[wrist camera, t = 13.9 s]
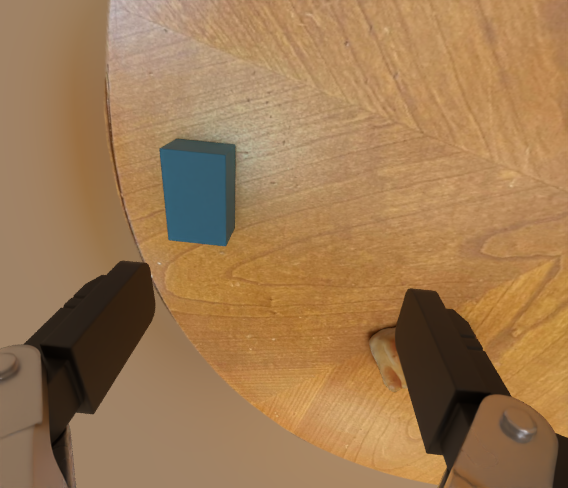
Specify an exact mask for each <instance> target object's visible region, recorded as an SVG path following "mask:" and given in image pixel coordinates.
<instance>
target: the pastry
mask: <svg viewBox="0 0 568 488" xmlns="http://www.w3.org/2000/svg"><path fill="white" fill-rule="evenodd" d="M395 329H396V327H395V328H387V329H383V330H381V331H379V332H378V333H376V334H374V335H373V336H372V337H371V339H370V341H369V345H370V348H371V352H372V355H373V357H374V359H375V360H376V363H377V365H378V367H379V370H380V373H381V375H382V379H383V381H384V384H385V385H386V387H387V388H388V389H389V390H391V391H392V392H397V391H399V390H400V389H402V388H407V384H406V381H405V377H404V374H403V370H402V367H401V363H400V360H399V356H398V353H397V350H396V345H395ZM475 336H476V335H475ZM476 339H477V337H476Z"/></svg>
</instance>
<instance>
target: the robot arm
mask: <svg viewBox="0 0 568 488" xmlns="http://www.w3.org/2000/svg"><path fill="white" fill-rule="evenodd" d="M154 313H155V298H154V291H153V284H152V278H151V271H150V267H149V265H148V264H147V263H142V262H130V261H120V262H119V263H118V264H117V265H116V266H115V267H114V268H113V269H112V270H111V271H110V272H109V273H108V274H107V275H101V276H99V277H97V278H96V279H94V280H92V281H90V282H88V283H87V284H85V285H84V286H83V287H82V288H81V289H80V290H79V291H78V292H77V293H76V294H75V295H74V297H73V298H71V299H70V300H69V301H68V302H67V303H65V305H64V307H63V308H60V309H59V310H58V311H57V312H56V313H55V314H54V315H53V316H52V317H51V318H50V319H49V320H48V321H47V322H46V323H45V324H44V325H43V326H42V327H41V328H40V329H39V330H38V331H37V332H36V333H35V334H34V335H33V336H32V337H31V338H30V339H29V340H28V341H26V343H24V344H23V345H12V346H8V347H4V348H1V349H0V488H76V481H75V471H74V462H73V451H72V441H71V431H70V426H69V424H68V423H69V422H70V420H71V419H72V417H73V416H74V414H75V413H76V412H77V413H85V414H94V413H95V411H96V410H97V408H98V407H99V405H100V403H101V402H102V400H103V399H104V397H105V395H106V394H107V392H108V390H109V389H110V387H111V386H112V384H113V382H114V381H115V379H116V377H117V376H118V374H119V373H120V371H121V370H122V368H123V366H124V365H125V363H126V362H127V360H128V358H129V357H130V355H131V353H132V352H133V350H134V349H135V347H136V346H137V344H138V342H139V341H140V339H141V337H142V336H143V334H144V333H145V331H146V330H147V328H148V326H149V325H150V323H151V321H152V319H153V316H154ZM395 345H396V350H397V353H398V356H399V360H400V363H401V367H402V370H403V374H404V377H405V381H406V384H407V388H408V391H409V394H410V398H411V401H412V405H413V408H414V412H415V415H416V419H417V422H418V425H419V429H420V432H421V436H422V439H423V443H424V446H425V450H426V453H428V454H437V455H443V456H444V459H445V462H446V465H447V468H446V470H445V472H444V474H443V476H442V478H441V481H440V483H439V485H438V488H568V438H567V437H564V436H561V435H559V434H557V433H555V432H554V430H553V428H552V427H551V425H550V424H549V423H548V422H547V420H546V419H545V418H544V417H543V416H542V415H541V414H539V413H538V412H537V411H536V410H535V409H533V408H532V407H530V406H529V405H527V404H526V403H524V402H522V401H520V400H518V399H515V398H513V397H512V396H511V395H510V393H509V391H508V390H507V388H506V386H505V385H504V383H503V381H502V379H501V378H500V376H499V374H498V373H497V371H496V369H495V368H494V366H493V364H492V363H491V361H490V359H489V358H488V356H487V354H486V352H485V351H483V347H482V346H481V344H480V342H479V341H478V339H476V336H475V334H474V332H473V331H472V329H471V327H470V325H469V324H468V322H467V321H466V320H465V319H463V318H462V317H461V316H460V315H459V314H458V313H457V312H456V311H454V310H453V309H446V308H445V306H444V304H443V302H442V300H441V299H440V297H439V295H438V293H437V292H436V291H432V290H421V289H408V290H407V292H406V294H405V298H404V301H403V304H402V308H401V311H400V315H399V318H398V321H397V325H396V329H395Z"/></svg>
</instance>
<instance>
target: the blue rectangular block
mask: <svg viewBox="0 0 568 488" xmlns="http://www.w3.org/2000/svg"><path fill="white" fill-rule="evenodd" d="M160 159H161V169H162V179H163V189H164V199H165V209H166V219H167V229H168V239H169V240H172V241H181V242H191V243H200V244H209V245H218V246H226V245H227V243H228V241H229V239H230V237H231V235H232V233H233V230H234V228H235V145H234V144H224V143H214V142H204V141H194V140H184V139H175V140H174V141H172V142H170V143H168V144H167V145H165V146H163V147H161V148H160Z"/></svg>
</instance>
